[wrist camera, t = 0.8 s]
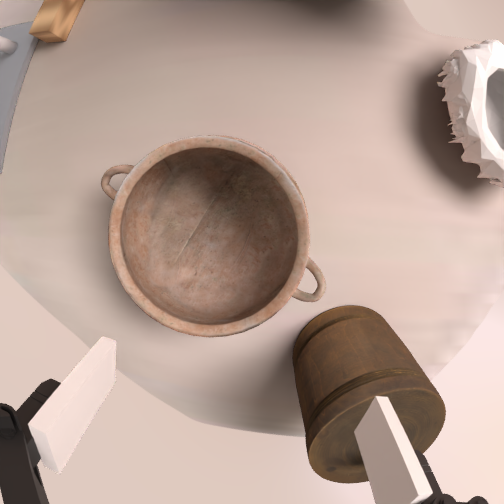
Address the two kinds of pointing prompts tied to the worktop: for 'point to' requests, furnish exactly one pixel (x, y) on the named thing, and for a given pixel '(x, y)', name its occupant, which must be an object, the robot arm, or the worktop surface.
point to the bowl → (478, 105)
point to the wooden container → (358, 388)
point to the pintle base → (12, 73)
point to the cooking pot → (210, 235)
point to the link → (55, 19)
